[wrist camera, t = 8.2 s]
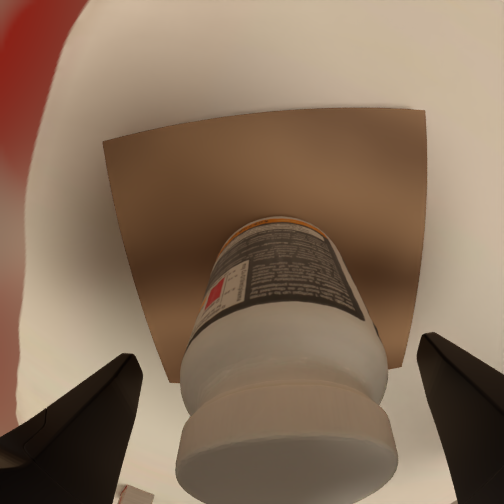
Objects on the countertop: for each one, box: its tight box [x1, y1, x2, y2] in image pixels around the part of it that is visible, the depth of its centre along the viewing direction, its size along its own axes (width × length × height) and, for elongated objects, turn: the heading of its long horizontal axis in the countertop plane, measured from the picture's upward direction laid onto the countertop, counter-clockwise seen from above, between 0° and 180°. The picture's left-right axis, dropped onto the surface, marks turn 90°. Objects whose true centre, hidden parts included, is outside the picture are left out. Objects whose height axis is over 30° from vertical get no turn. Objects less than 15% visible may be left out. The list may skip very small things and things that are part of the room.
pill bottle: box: [175, 216, 398, 504], centre depth 9 cm, size 6×6×10 cm
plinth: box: [103, 108, 427, 383], centre depth 15 cm, size 14×14×1 cm
